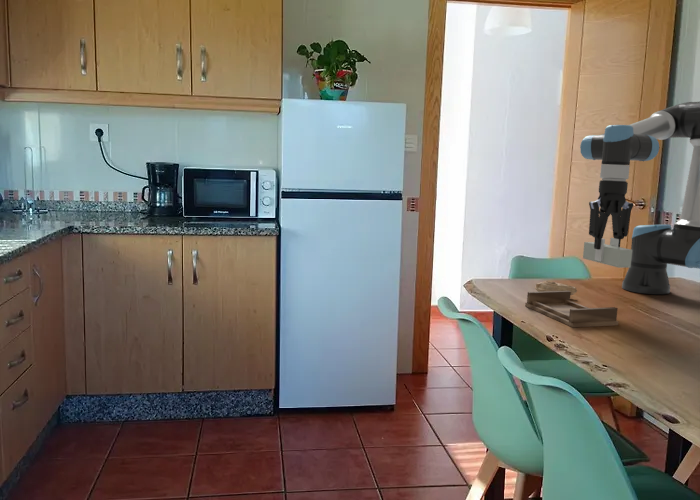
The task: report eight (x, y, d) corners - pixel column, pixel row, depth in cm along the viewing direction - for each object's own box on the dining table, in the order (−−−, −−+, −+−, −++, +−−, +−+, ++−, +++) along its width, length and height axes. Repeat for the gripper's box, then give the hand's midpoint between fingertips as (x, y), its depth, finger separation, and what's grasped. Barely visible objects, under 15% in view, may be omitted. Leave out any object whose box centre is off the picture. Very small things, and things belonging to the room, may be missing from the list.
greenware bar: (594, 258, 187) (595, 242, 187) (630, 267, 172) (632, 249, 171) (582, 258, 186) (584, 242, 186) (618, 267, 171) (620, 249, 170)
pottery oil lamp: (578, 300, 194) (571, 282, 191) (540, 308, 199) (533, 290, 196) (577, 286, 201) (571, 268, 199) (540, 294, 206) (533, 277, 204)
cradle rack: (525, 305, 186) (526, 291, 185) (565, 304, 190) (566, 290, 189) (573, 327, 163) (574, 310, 162) (618, 325, 167) (619, 308, 166)
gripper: (629, 180, 182) (621, 258, 185) (579, 178, 177) (572, 258, 181) (648, 181, 175) (639, 262, 178) (596, 179, 170) (588, 262, 173)
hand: (605, 260), depth 179 cm, fingers closed on greenware bar, 4 cm apart
